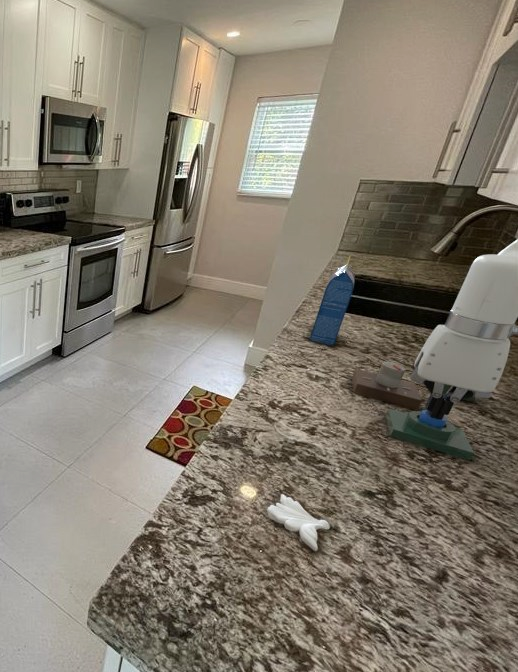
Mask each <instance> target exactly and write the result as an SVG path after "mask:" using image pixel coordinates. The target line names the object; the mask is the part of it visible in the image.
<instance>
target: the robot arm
mask: <svg viewBox="0 0 518 672" xmlns="http://www.w3.org/2000/svg"><path fill="white" fill-rule="evenodd" d="M517 320H518V238H517V239H516V240H515V241H513V242H512V243H510V244H509V245H508V246H506V247H505V248H504V249H502V250H500V252H498V253H497V254H495V253H494V254H491V253H490V254H489V253H488V254H482V255H479V256H477V258H475V259H474V260H473V261H472V264H471V265H470V267H469V270H468V273H467V275H466V276H465V279H464V281H463V283H462V285H461V288H460V290H459V292H458V294H457V296H456V299H455V301H454V303H453V305H452V307H451V310H450V312H449V314H448V316H447V319H446V321H445V323H444V324H438V325H436V327H435V328H434V329H433V330H432V332H431V333H430V335H429V336H428V337H427V339H426V341H425V342H424V344H423V346H422V348H421V349H420V351H419V352H418V355H417V357H416V359H415V361H414V365H413V367H414V369H413V370H412V372H410V374H409V375H408V376H409V378H410V380H411V381H413V382H415V383H417V384H420V385H422V386H424V387H425V388H426V390H427V391H428V392H429V393H430V394H429V396H428V399H427V401H426V403H425V406H424V410H427V411H428V413H429V416H430V417H433V418H434V417H436V418H437V419H440V420H442V419H443V417H444V416H449V415H450V412H451V410H452V408H453V407H454V404H456V403H459V402H460V401H463V400H462V399H466V398H469V397H475V398H479V399H480V398H481V399H490V398H491V397H492V394H493V393H492V392H493V391H495V389H496V388H497V385H498V384H499V382H500V380H501V377H502V375H503V372H504V369H505V368H506V364H507V361H508V357H509V355H510V354H509V353H510V349H511V340H510V339H509V338H510V337H511V336H515V335H516V336H518V325H517V324H516V321H517ZM444 384H446V385H450V386H451V388H450V389H449V390H448V391H447V393H445V394H442V392H443V387H444Z"/></svg>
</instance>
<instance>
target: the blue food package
mask: <svg viewBox="0 0 518 672" xmlns="http://www.w3.org/2000/svg"><path fill="white" fill-rule="evenodd" d="M350 259H351V256H349V257H348V260H347V262H346V264H345V265H343V266H340V267H339V268H338V269H336V270H335V271H333V273H332V274H331V275H330V277H329V279H328V280H327V283H326V285H325V289H324V292H323V296H322V299H321V303H320V306H319V308H318V311H317V313H316V317H315V320H314V324H313V327H312V329H311V333H310V335H309V338H308V340H309V341H312V342H317V343H319V344H320V343H321V344H325V345H328V346H332V347H334V346H335V343H336V341H337V338H338V336H339V332H340V329H341V326H342V323H343V321H344V318H345V315H346V312H347V309H348V306H349V304H350V301H351V298H352V295H353V292H354V288H355V281H356V280H355V273H354V271H353V270H352V269H351V266H350V265H349V262H350Z"/></svg>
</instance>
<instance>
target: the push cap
mask: <svg viewBox="0 0 518 672" xmlns="http://www.w3.org/2000/svg"><path fill="white" fill-rule="evenodd" d="M420 412H421V413H420V416H419V418H418V419H419V420H420V421H422V422H424V423H426V424H428V425H431V426H434V427H438V428H444V426H445V424H446V422H447V421H448V417H447V416H446V415H444V417H443V419H442V420H440V419H437V418H436V417H434V418H433V417H430V416H429V413H428V411H427V410H426V409H422V410H421V411H420Z"/></svg>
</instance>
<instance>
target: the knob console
mask: <svg viewBox="0 0 518 672" xmlns="http://www.w3.org/2000/svg"><path fill="white" fill-rule="evenodd" d="M377 375H378V373H375V372H369V371H365V370H362V369H358V368H355V369H354V372H353V373H352V375H351V382H352V384H351V385H352V391H353V394H355V395H359V396H363V397H366V398H370V399H374V400H377V401H381V402H385V403H388V404H392V405H395V406H399V407H403V408H406V409H410V410H413V411H419V408H420V406H421V404H422V402H423V399H422V396H421V394H420V392H419V390H418V387H417V384H416V383H414V382H409V381H405V380H402V379H401V381H400V384H399V386H398V387H397V388H391V387H386V386H383V385H381V384H379V383H377V382H376V378H377Z"/></svg>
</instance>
